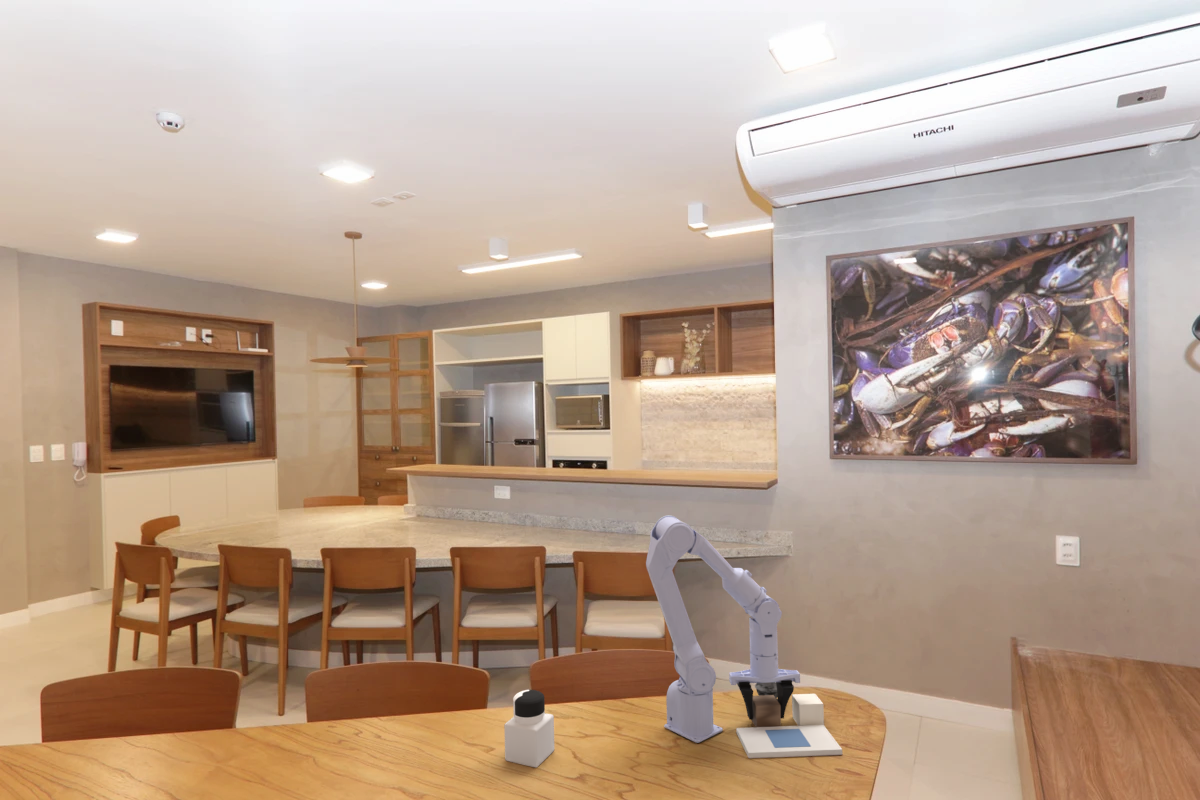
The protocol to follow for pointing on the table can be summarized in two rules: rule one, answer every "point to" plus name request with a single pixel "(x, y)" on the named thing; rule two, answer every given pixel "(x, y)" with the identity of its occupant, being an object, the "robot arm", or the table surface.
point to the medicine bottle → (529, 730)
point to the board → (788, 741)
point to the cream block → (807, 709)
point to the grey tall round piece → (767, 689)
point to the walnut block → (766, 711)
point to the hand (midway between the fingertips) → (765, 717)
